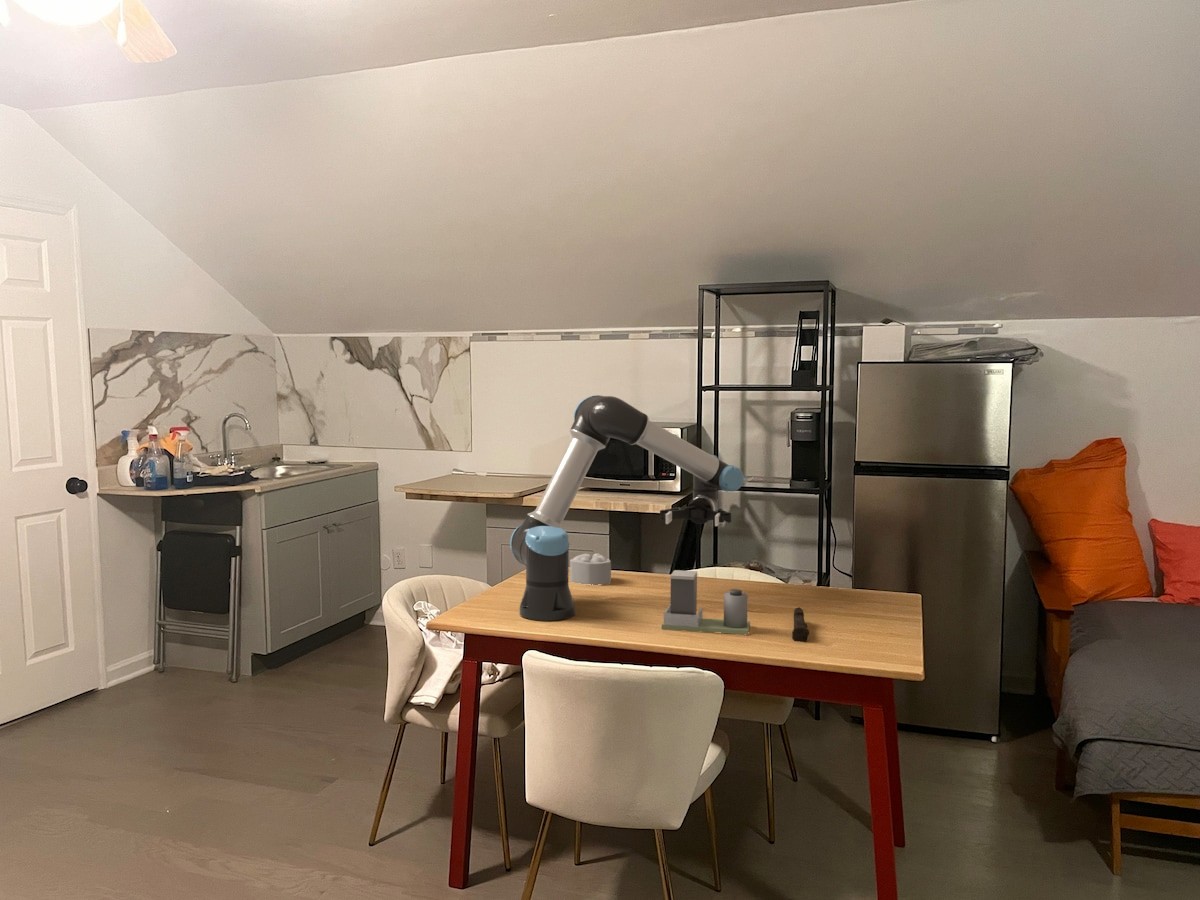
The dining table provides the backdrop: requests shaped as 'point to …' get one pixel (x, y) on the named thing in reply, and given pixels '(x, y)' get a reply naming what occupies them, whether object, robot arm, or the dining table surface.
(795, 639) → the hand tool
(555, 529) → the robot arm
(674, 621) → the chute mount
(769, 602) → the dining table surface
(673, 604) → the grey block
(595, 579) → the lumpy-topped squat cylinder
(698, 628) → the desk organizer stand
